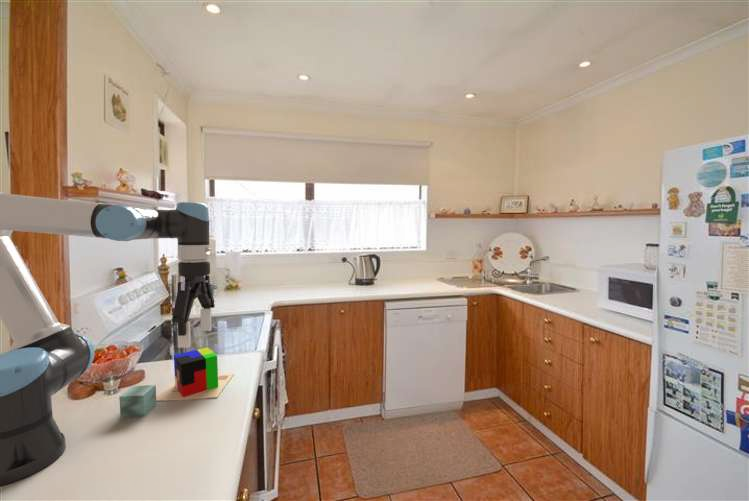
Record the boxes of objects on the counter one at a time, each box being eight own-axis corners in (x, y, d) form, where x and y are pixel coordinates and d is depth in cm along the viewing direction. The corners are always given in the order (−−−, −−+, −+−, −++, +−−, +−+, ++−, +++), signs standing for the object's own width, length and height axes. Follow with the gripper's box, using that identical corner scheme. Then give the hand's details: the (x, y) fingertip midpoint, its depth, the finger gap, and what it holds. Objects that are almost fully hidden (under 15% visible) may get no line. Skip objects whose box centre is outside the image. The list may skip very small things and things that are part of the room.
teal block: (120, 418, 90) (119, 396, 90) (134, 406, 96) (132, 386, 95) (144, 417, 91) (143, 395, 90) (156, 405, 97) (155, 384, 96)
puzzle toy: (175, 385, 108) (173, 354, 107) (208, 376, 114) (207, 347, 113) (182, 397, 100) (181, 364, 99) (218, 386, 107) (217, 355, 106)
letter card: (152, 401, 98) (152, 400, 98) (178, 377, 114) (178, 376, 114) (217, 397, 100) (217, 396, 100) (233, 374, 116) (233, 373, 116)
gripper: (187, 265, 78) (189, 355, 80) (225, 256, 103) (226, 325, 105) (153, 265, 78) (156, 355, 79) (199, 256, 103) (201, 325, 104)
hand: (196, 338), depth 92 cm, fingers open, 13 cm apart
